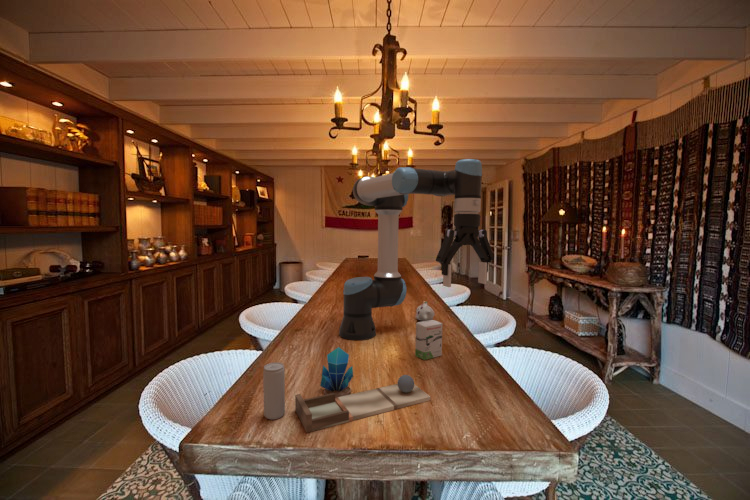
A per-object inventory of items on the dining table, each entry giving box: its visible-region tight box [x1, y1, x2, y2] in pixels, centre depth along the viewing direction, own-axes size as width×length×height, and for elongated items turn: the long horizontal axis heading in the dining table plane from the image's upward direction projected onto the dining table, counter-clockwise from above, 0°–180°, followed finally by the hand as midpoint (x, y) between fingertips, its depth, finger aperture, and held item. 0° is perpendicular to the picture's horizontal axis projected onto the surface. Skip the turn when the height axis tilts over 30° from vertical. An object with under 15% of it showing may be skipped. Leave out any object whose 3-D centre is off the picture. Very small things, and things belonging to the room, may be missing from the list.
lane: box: [294, 383, 432, 434], centre depth 88 cm, size 10×33×4 cm, turn 117°
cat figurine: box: [414, 300, 435, 322], centre depth 166 cm, size 10×8×15 cm
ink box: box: [414, 319, 443, 361], centre depth 122 cm, size 9×5×12 cm, turn 123°
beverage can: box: [262, 362, 286, 421], centre depth 83 cm, size 5×5×12 cm
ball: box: [397, 374, 415, 393], centre depth 93 cm, size 4×4×4 cm
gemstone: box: [319, 346, 354, 398], centre depth 94 cm, size 7×9×12 cm
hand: (465, 284), depth 104 cm, fingers open, 13 cm apart
